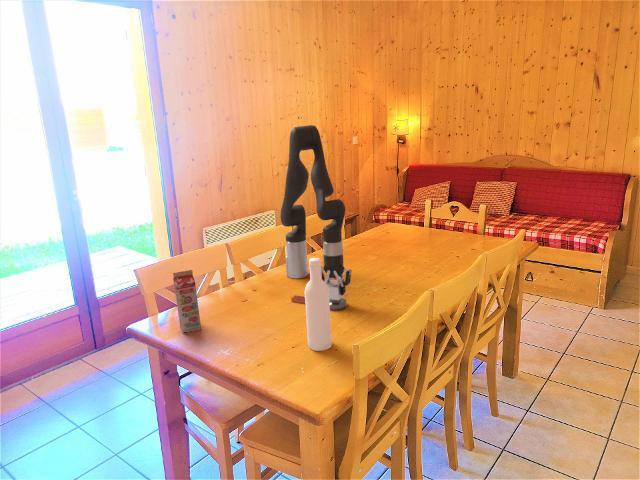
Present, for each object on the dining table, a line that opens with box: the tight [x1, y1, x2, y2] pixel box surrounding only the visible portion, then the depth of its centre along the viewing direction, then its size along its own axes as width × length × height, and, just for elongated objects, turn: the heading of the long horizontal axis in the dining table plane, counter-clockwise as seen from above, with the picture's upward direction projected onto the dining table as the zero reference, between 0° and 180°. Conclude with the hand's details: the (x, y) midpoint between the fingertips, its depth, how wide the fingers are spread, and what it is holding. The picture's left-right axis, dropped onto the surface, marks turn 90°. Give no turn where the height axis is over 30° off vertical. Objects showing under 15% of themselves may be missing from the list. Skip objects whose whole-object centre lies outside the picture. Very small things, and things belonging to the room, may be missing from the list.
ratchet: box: [291, 295, 348, 312], centre depth 194 cm, size 23×8×6 cm, turn 64°
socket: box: [326, 278, 346, 300], centre depth 189 cm, size 6×6×6 cm
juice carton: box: [172, 269, 202, 334], centre depth 177 cm, size 7×7×22 cm
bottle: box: [304, 257, 333, 352], centre depth 157 cm, size 8×8×30 cm
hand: (335, 293), depth 190 cm, fingers closed on socket, 5 cm apart
